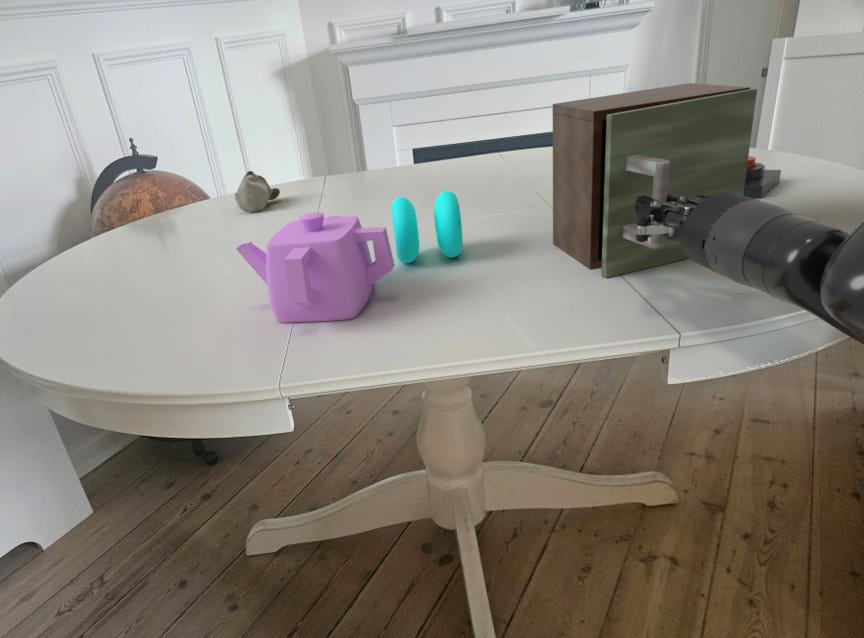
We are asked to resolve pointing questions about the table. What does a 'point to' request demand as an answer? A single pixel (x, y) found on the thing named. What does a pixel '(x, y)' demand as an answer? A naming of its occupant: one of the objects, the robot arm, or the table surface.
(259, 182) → the ceramic sculpture
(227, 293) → the table surface
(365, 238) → the teakettle
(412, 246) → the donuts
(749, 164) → the button
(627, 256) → the cupboard door
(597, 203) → the cupboard
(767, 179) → the button box
